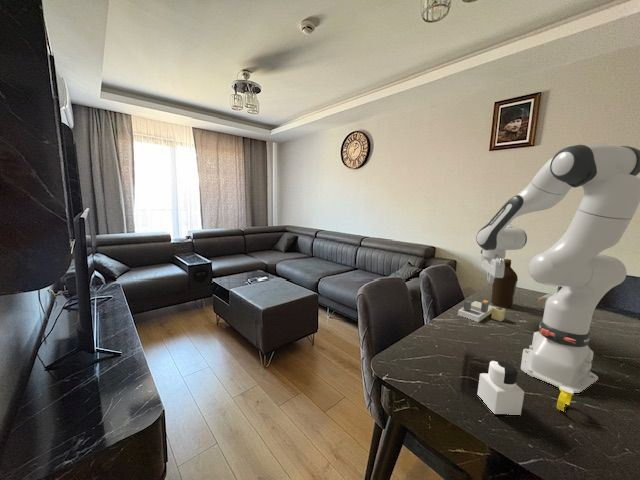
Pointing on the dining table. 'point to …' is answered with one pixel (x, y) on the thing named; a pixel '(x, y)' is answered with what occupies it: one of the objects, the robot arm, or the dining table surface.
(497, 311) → the tan block with knob
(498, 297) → the olive oil
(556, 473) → the dining table surface
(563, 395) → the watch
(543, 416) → the dining table surface
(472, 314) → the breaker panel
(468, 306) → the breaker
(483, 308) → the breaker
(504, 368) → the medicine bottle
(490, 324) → the dining table surface
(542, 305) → the ceramic mug
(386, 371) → the dining table surface
